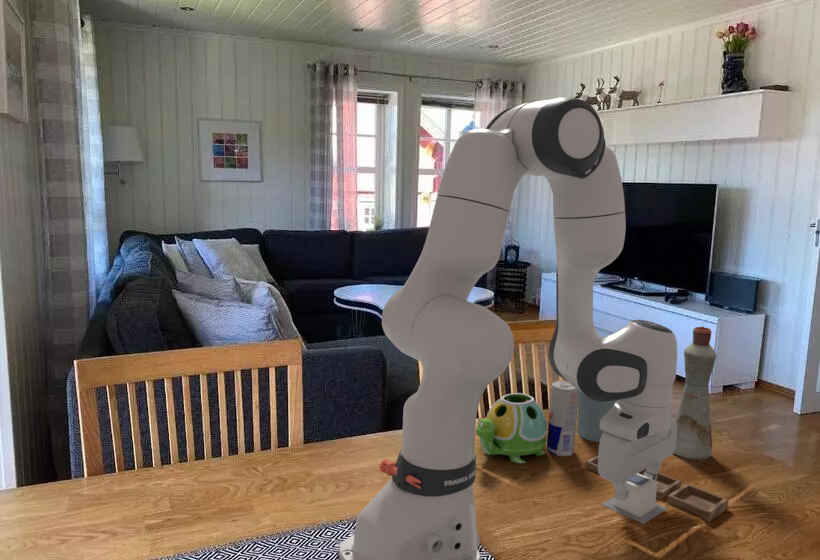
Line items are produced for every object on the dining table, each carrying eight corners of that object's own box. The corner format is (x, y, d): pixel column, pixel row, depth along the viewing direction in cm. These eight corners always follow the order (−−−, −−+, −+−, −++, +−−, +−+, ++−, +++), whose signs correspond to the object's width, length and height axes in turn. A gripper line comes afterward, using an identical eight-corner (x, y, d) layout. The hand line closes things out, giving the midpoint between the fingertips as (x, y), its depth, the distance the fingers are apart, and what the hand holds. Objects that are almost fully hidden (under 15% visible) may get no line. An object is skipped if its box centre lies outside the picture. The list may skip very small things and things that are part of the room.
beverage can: (571, 448, 136) (576, 381, 133) (575, 459, 130) (581, 389, 128) (544, 446, 136) (549, 379, 134) (547, 457, 131) (553, 387, 128)
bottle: (657, 450, 136) (670, 323, 132) (682, 442, 141) (696, 319, 136) (694, 466, 129) (709, 332, 124) (719, 457, 134) (735, 328, 129)
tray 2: (660, 502, 114) (661, 493, 114) (623, 486, 119) (624, 477, 119) (680, 490, 119) (681, 481, 118) (643, 475, 124) (644, 466, 124)
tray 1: (618, 484, 120) (619, 475, 120) (584, 469, 126) (585, 461, 125) (638, 473, 125) (639, 464, 125) (605, 459, 130) (605, 451, 130)
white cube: (639, 517, 107) (642, 488, 107) (613, 505, 111) (616, 477, 110) (654, 507, 111) (657, 480, 110) (628, 496, 114) (631, 469, 114)
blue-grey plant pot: (566, 437, 141) (570, 385, 139) (584, 424, 149) (588, 375, 147) (611, 450, 135) (616, 396, 133) (627, 436, 143) (632, 385, 141)
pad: (643, 527, 105) (643, 523, 105) (601, 507, 111) (601, 504, 111) (666, 511, 111) (667, 508, 111) (625, 493, 117) (625, 490, 116)
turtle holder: (454, 455, 130) (457, 399, 128) (513, 435, 142) (517, 383, 140) (498, 478, 121) (502, 419, 119) (558, 455, 132) (562, 400, 130)
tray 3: (708, 522, 108) (709, 512, 107) (666, 504, 113) (667, 495, 113) (726, 508, 112) (728, 499, 112) (686, 492, 118) (687, 483, 118)
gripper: (656, 397, 117) (649, 467, 119) (593, 422, 104) (587, 500, 106) (689, 407, 113) (681, 480, 115) (629, 434, 99) (621, 516, 101)
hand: (635, 490), depth 110 cm, fingers open, 8 cm apart
